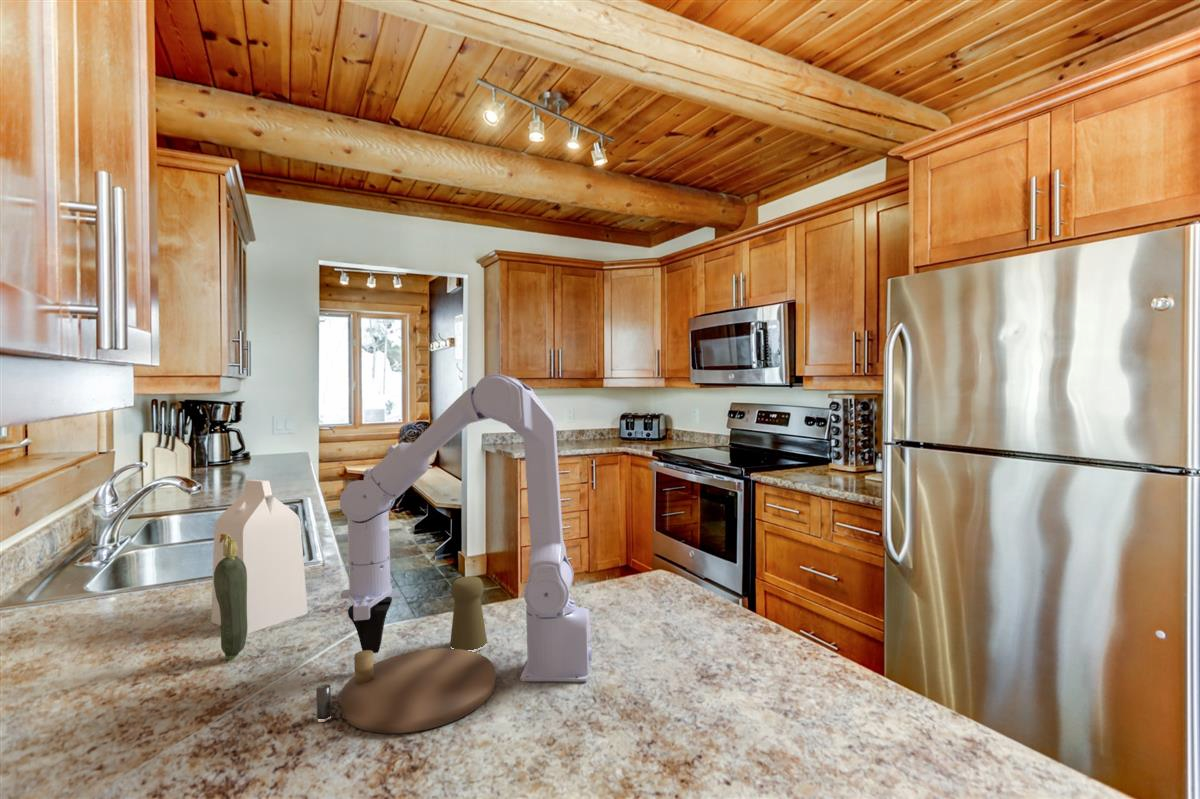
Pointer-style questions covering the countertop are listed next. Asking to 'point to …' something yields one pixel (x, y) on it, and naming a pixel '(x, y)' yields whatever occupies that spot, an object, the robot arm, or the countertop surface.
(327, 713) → the dark gray cylinder
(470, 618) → the olive pawn piece
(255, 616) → the milk
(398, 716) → the disc
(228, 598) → the vegetable
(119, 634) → the countertop surface
